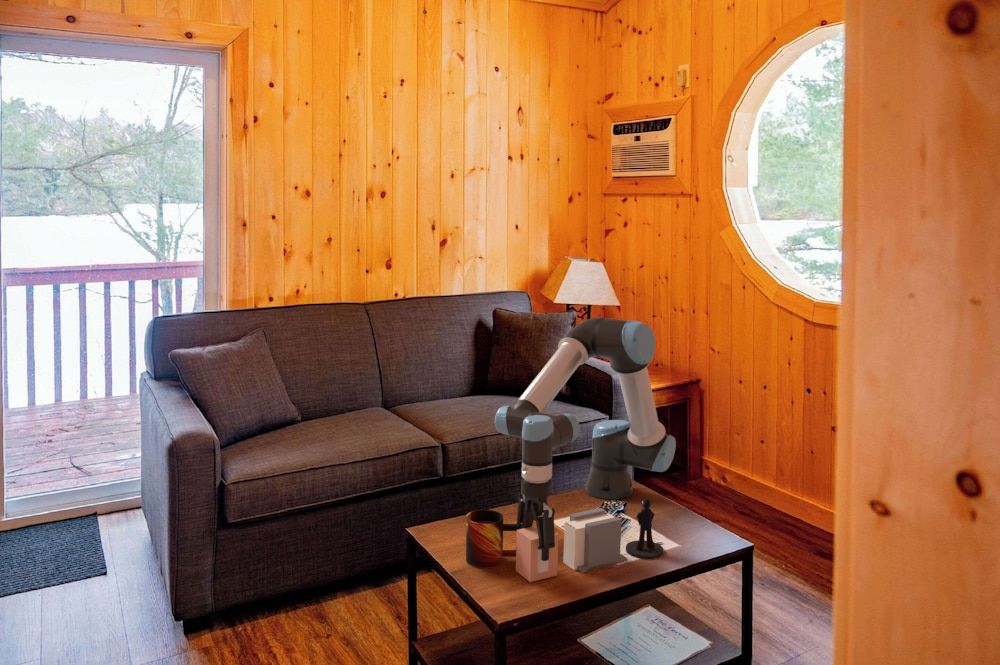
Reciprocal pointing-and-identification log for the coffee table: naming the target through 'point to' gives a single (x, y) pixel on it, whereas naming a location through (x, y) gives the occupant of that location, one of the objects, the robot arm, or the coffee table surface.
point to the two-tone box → (592, 540)
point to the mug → (486, 538)
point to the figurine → (646, 547)
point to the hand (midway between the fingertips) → (534, 565)
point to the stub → (533, 555)
